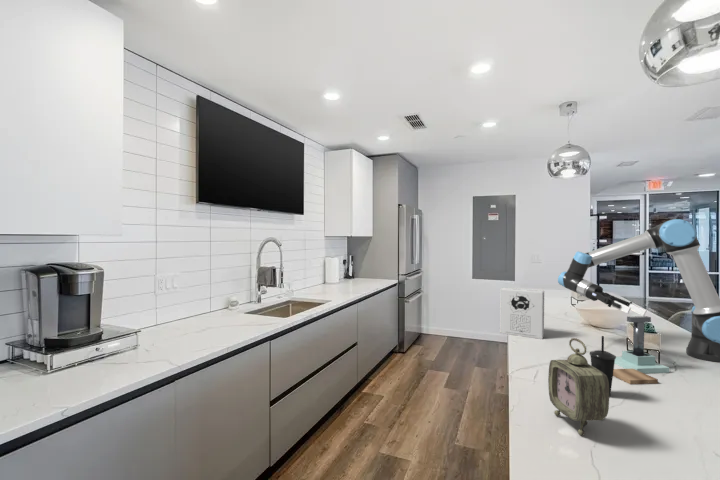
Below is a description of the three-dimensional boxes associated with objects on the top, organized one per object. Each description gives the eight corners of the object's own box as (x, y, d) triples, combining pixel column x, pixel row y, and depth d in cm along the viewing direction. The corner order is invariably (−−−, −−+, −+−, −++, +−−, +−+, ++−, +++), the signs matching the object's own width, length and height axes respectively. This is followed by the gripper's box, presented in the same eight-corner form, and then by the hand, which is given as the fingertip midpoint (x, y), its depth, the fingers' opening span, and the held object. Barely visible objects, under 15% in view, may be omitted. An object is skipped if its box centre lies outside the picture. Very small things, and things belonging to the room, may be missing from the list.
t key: (642, 359, 154) (643, 315, 154) (653, 363, 149) (654, 318, 149) (623, 360, 153) (624, 315, 153) (633, 364, 148) (634, 318, 148)
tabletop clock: (547, 413, 111) (548, 332, 111) (575, 412, 112) (577, 332, 111) (579, 439, 97) (580, 347, 96) (611, 438, 97) (613, 346, 97)
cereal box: (543, 335, 198) (544, 290, 197) (542, 339, 191) (543, 292, 191) (502, 330, 209) (502, 287, 209) (499, 333, 203) (500, 288, 202)
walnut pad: (632, 372, 145) (632, 368, 145) (657, 383, 134) (657, 379, 134) (607, 373, 144) (607, 369, 144) (630, 384, 133) (630, 380, 133)
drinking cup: (620, 399, 121) (620, 340, 120) (594, 397, 122) (595, 338, 122) (609, 390, 128) (609, 334, 128) (585, 388, 130) (586, 332, 129)
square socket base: (639, 360, 159) (639, 348, 159) (669, 372, 145) (669, 359, 145) (609, 361, 157) (609, 348, 157) (637, 373, 144) (637, 359, 143)
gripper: (600, 300, 180) (647, 321, 161) (571, 294, 168) (618, 317, 150) (607, 286, 178) (655, 306, 160) (578, 280, 166) (626, 301, 148)
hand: (637, 311), depth 155 cm, fingers open, 13 cm apart
